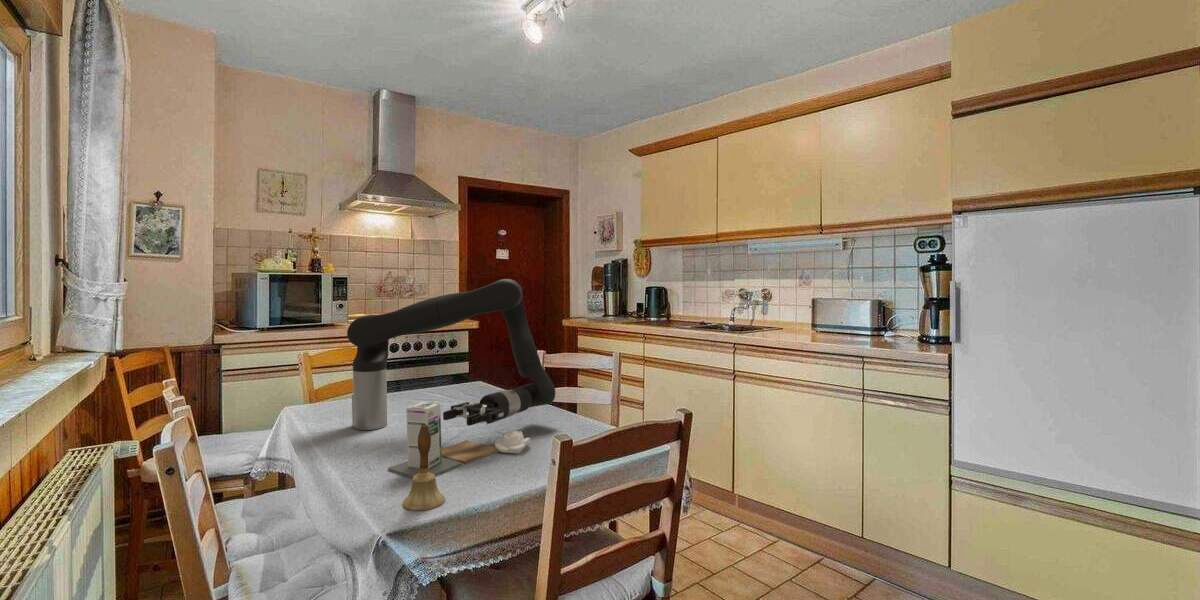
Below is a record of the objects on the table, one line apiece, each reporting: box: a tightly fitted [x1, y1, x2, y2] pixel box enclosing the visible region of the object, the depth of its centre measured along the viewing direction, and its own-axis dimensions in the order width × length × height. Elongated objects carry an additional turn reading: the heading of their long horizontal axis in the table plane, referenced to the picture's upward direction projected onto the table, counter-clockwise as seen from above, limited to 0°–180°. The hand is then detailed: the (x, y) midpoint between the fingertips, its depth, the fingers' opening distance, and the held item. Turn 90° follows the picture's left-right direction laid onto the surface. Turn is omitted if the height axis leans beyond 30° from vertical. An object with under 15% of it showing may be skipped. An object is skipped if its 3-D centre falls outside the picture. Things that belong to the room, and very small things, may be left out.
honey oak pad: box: [441, 439, 499, 465], centre depth 143 cm, size 12×12×1 cm
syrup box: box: [405, 401, 442, 469], centre depth 132 cm, size 6×6×14 cm
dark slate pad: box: [387, 457, 463, 479], centre depth 132 cm, size 12×12×1 cm
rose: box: [493, 429, 532, 454], centre depth 146 cm, size 10×4×10 cm
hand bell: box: [402, 425, 446, 511], centre depth 113 cm, size 8×8×16 cm
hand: (455, 418), depth 140 cm, fingers open, 8 cm apart
